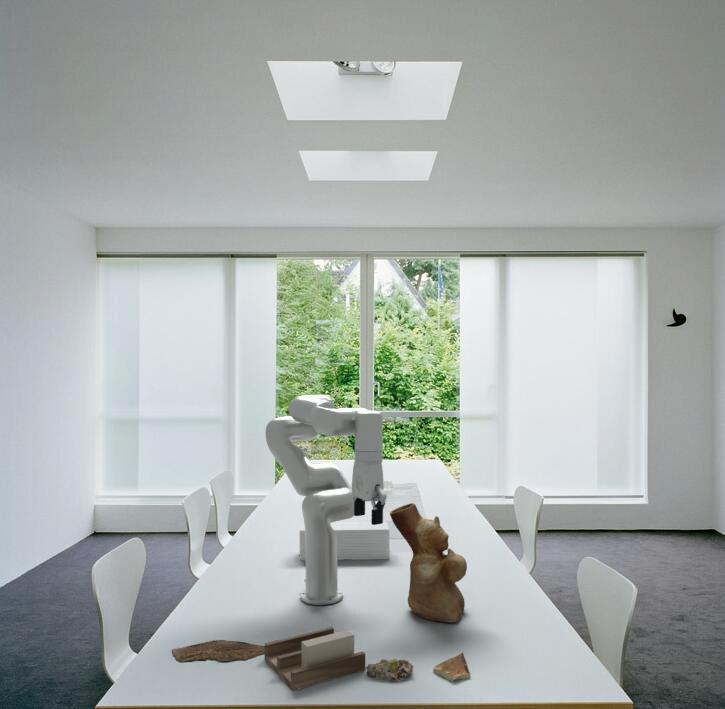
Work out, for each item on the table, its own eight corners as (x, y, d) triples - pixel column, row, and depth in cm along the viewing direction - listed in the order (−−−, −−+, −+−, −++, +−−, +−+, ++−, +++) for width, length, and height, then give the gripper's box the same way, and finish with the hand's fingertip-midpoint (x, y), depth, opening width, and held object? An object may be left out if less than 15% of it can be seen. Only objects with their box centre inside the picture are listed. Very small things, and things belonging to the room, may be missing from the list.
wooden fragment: (164, 663, 147) (164, 659, 147) (177, 642, 158) (177, 638, 158) (273, 663, 148) (273, 659, 148) (279, 642, 158) (279, 638, 159)
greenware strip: (301, 668, 142) (301, 641, 142) (347, 655, 148) (347, 629, 148) (307, 673, 139) (307, 646, 139) (354, 660, 145) (354, 634, 145)
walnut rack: (264, 659, 149) (264, 643, 149) (331, 641, 158) (331, 626, 158) (293, 690, 135) (293, 673, 135) (365, 669, 144) (365, 653, 144)
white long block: (387, 550, 235) (387, 521, 235) (389, 559, 224) (389, 529, 224) (301, 551, 233) (301, 522, 234) (299, 560, 223) (299, 530, 223)
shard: (462, 658, 150) (462, 651, 150) (488, 670, 144) (488, 662, 144) (431, 673, 143) (431, 665, 143) (457, 686, 137) (457, 678, 137)
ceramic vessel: (461, 628, 165) (460, 514, 166) (382, 617, 173) (382, 508, 173) (472, 606, 180) (471, 502, 180) (399, 597, 188) (398, 496, 188)
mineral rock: (410, 653, 147) (414, 659, 139) (411, 674, 146) (416, 681, 138) (364, 656, 146) (366, 663, 139) (365, 677, 145) (367, 685, 137)
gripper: (341, 452, 175) (341, 514, 175) (372, 462, 160) (371, 529, 160) (365, 451, 179) (364, 510, 179) (397, 460, 164) (396, 525, 164)
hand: (368, 519), depth 170 cm, fingers open, 9 cm apart
